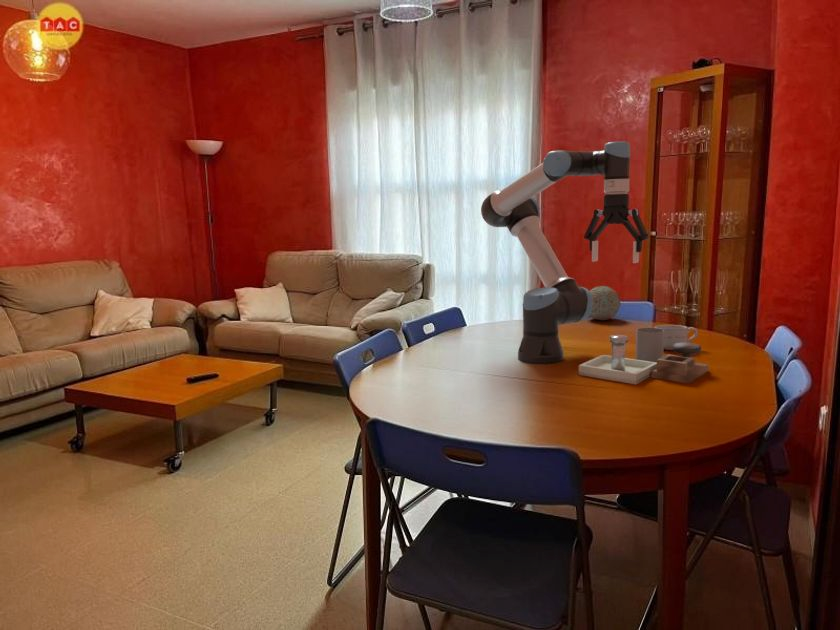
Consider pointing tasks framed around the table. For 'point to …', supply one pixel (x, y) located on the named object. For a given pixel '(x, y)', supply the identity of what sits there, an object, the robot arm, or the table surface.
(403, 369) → the table surface
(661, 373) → the block
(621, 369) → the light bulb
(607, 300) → the decorative sphere
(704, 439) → the table surface
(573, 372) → the table surface
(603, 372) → the tray
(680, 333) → the teacup
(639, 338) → the cup
